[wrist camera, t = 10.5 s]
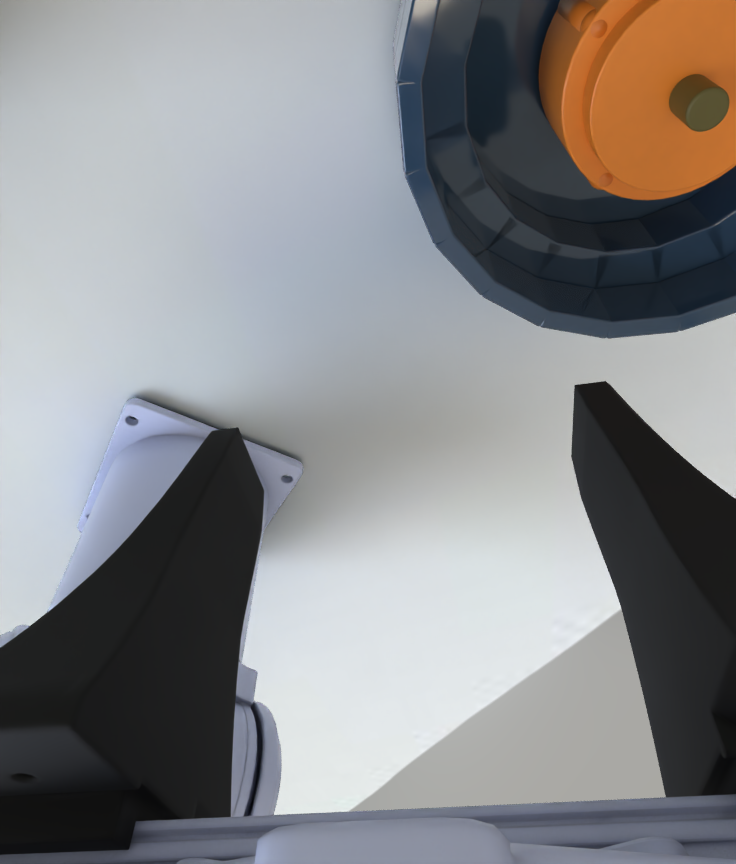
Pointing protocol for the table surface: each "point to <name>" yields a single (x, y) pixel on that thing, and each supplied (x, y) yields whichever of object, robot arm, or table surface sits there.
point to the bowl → (543, 187)
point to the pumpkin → (643, 92)
